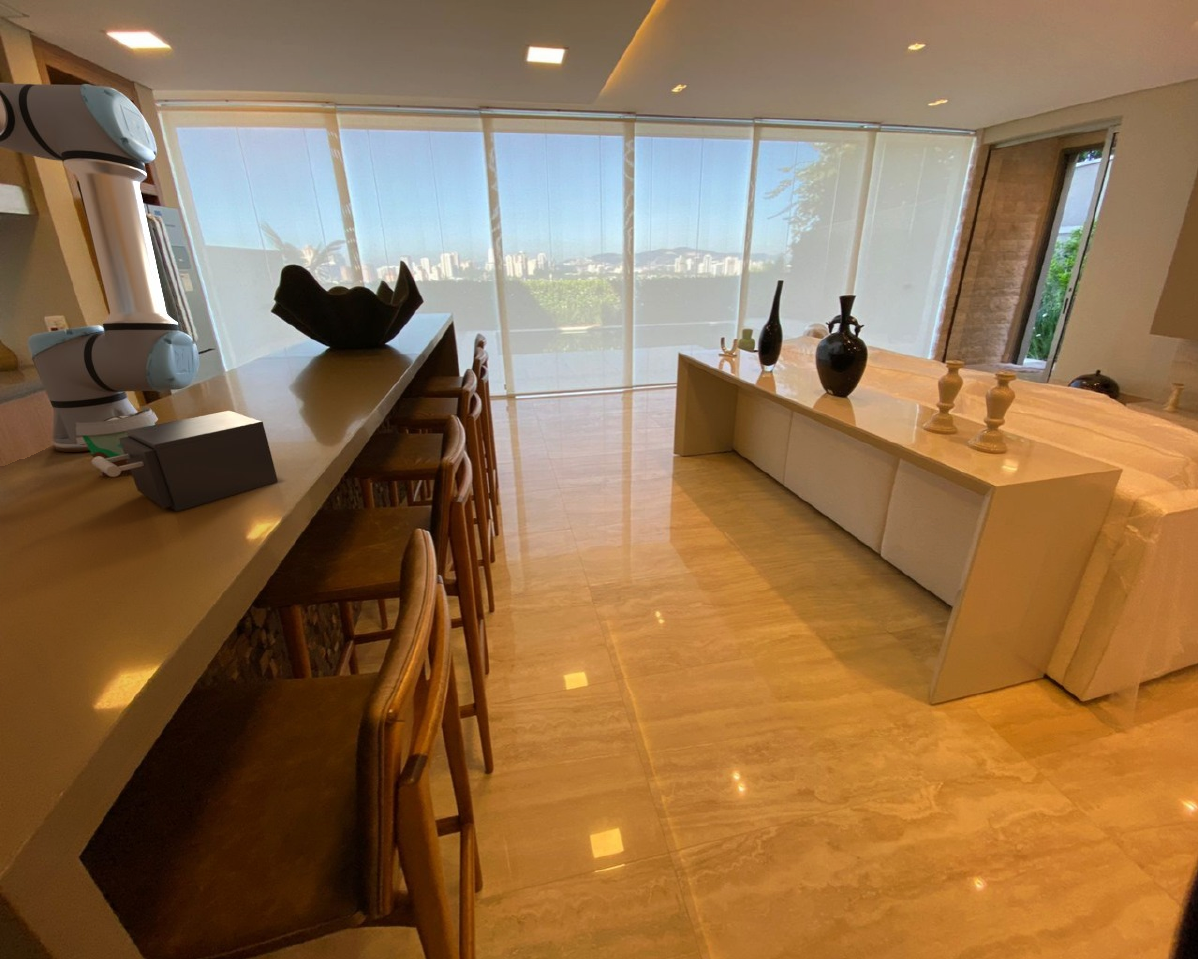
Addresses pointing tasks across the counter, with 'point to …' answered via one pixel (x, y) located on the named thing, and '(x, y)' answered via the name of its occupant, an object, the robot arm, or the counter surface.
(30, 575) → the counter surface
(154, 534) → the counter surface
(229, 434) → the cabinet
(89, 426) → the food container
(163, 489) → the drawer
